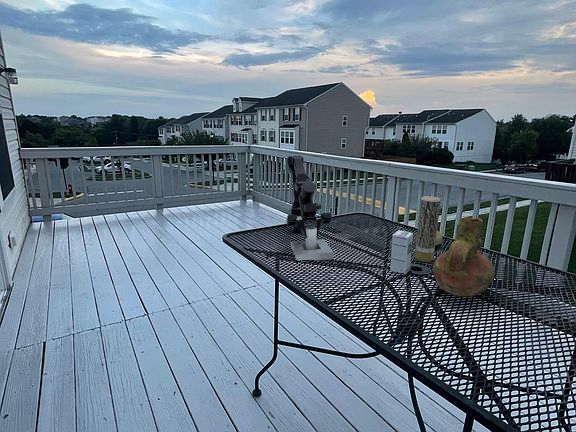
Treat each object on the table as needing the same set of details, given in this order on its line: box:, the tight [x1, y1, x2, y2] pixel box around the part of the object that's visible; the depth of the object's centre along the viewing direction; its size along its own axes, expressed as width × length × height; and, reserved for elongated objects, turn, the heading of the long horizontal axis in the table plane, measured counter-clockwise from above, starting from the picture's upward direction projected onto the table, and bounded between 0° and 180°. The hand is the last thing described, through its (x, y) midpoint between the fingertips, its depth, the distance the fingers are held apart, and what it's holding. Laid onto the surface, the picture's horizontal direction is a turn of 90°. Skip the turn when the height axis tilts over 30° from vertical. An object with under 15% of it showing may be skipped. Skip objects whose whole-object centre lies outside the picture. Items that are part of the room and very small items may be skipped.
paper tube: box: [414, 195, 442, 263], centre depth 125 cm, size 7×7×25 cm
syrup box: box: [389, 229, 414, 275], centre depth 118 cm, size 6×6×14 cm
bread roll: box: [414, 230, 444, 247], centre depth 141 cm, size 10×15×8 cm, turn 132°
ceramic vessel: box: [432, 216, 496, 297], centre depth 102 cm, size 17×26×25 cm, turn 141°
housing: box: [290, 238, 334, 262], centre depth 136 cm, size 15×15×3 cm
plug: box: [305, 225, 318, 250], centre depth 134 cm, size 4×4×11 cm
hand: (311, 237), depth 133 cm, fingers closed on plug, 4 cm apart
